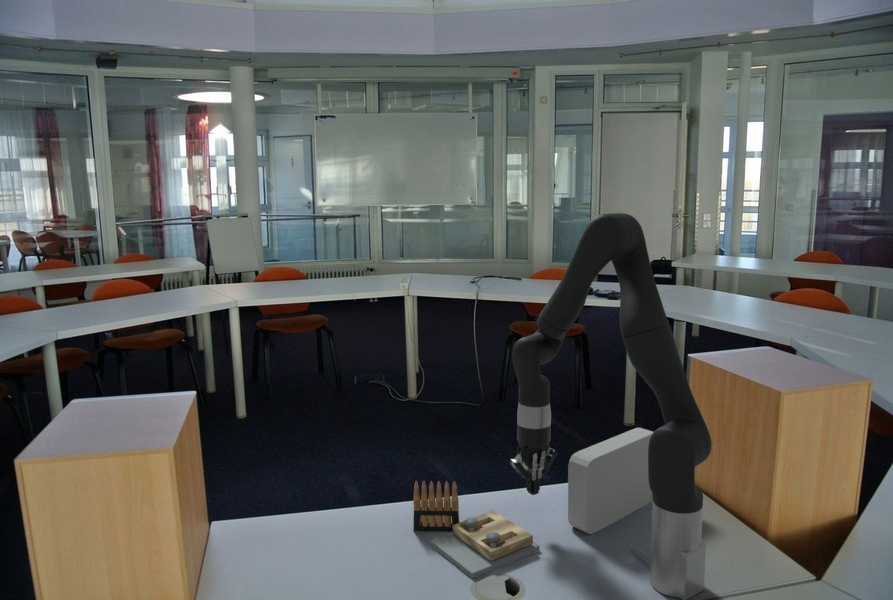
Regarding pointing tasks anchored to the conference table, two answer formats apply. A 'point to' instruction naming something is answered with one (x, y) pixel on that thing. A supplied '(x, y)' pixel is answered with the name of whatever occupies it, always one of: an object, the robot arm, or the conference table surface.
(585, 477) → the rounded white slab
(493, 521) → the beech panel
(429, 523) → the ammunition clip
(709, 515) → the conference table surface
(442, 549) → the board
